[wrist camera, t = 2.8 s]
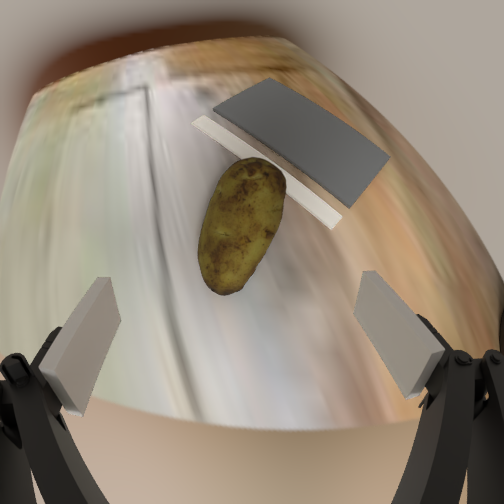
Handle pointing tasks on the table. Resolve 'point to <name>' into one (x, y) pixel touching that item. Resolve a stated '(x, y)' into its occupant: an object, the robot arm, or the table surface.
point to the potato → (240, 223)
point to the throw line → (293, 185)
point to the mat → (307, 137)
